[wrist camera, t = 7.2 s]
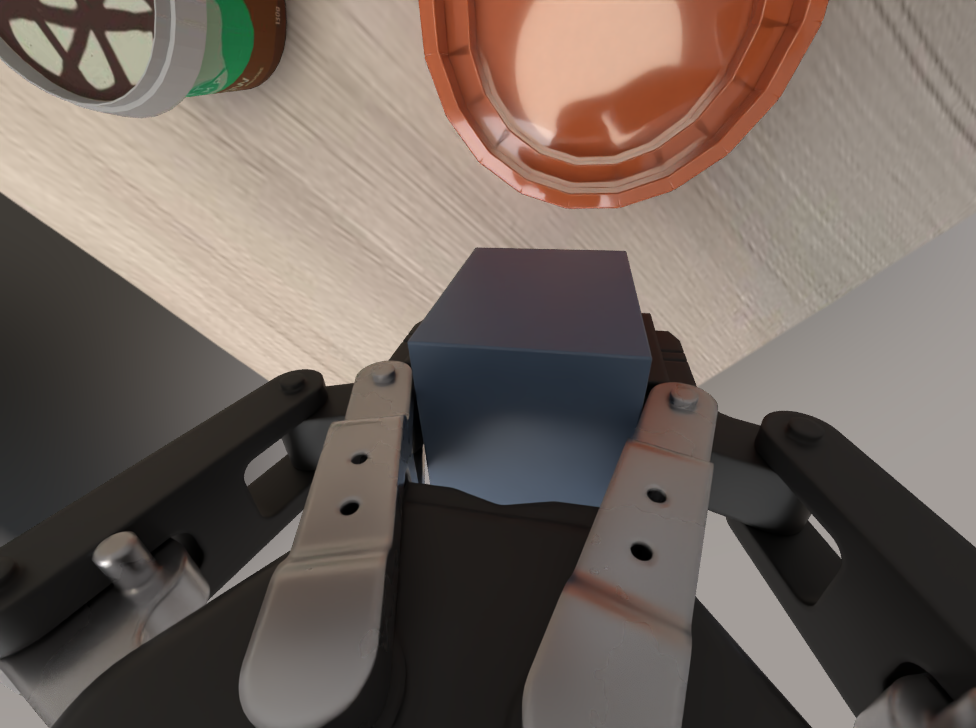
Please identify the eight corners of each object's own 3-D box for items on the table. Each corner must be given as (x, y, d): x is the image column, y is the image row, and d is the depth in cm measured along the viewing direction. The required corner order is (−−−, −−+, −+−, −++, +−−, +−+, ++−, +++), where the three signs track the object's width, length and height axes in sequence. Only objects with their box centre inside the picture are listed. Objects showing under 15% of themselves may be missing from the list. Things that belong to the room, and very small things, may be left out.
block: (626, 250, 12) (653, 358, 7) (608, 378, 15) (619, 525, 10) (475, 247, 13) (406, 341, 8) (481, 368, 15) (431, 499, 10)
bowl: (877, -320, 15) (954, -431, 12) (746, 191, 25) (769, 206, 21) (422, -217, 19) (386, -282, 16) (458, 196, 28) (440, 210, 25)
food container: (205, 139, 30) (58, 158, 22) (144, 37, 27) (-53, 14, 19) (345, 65, 26) (228, 53, 17) (289, -66, 23) (118, -154, 15)
